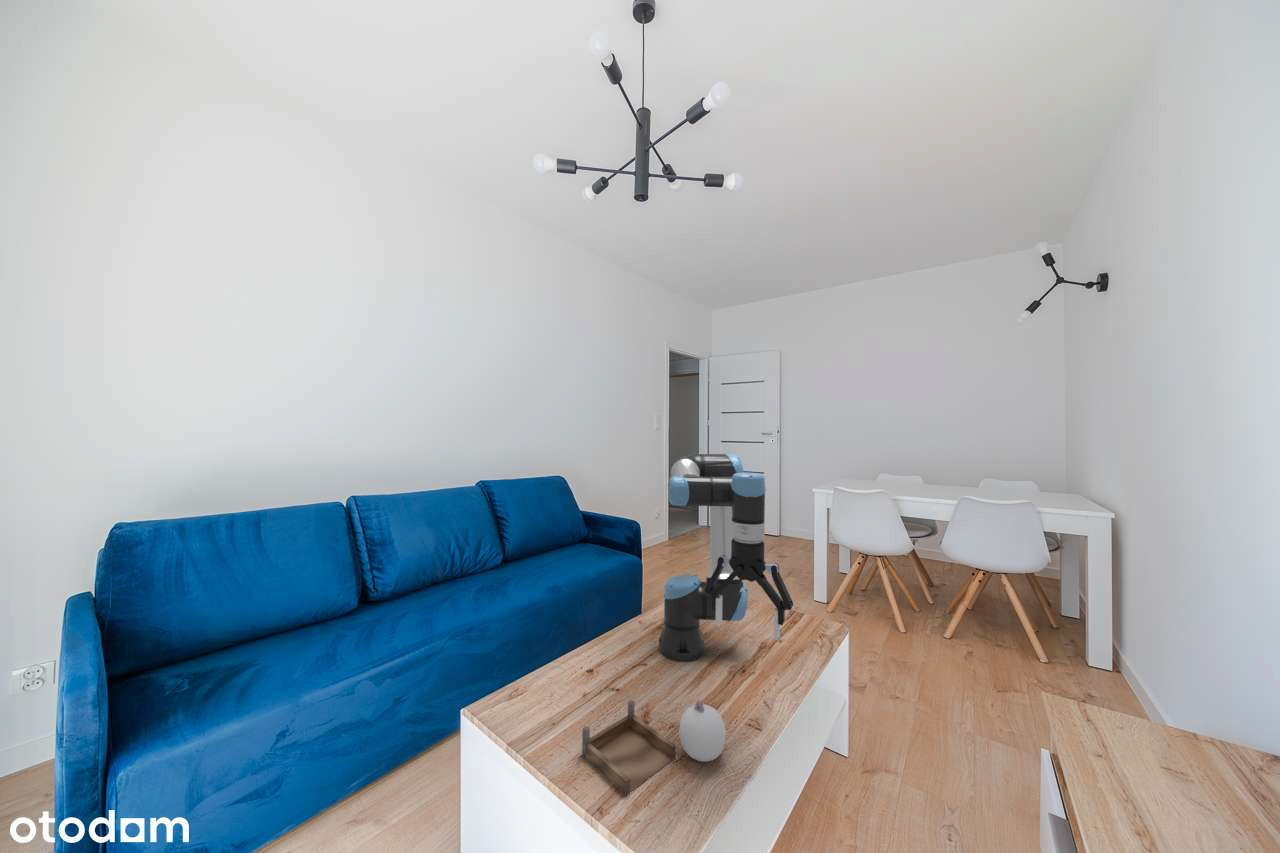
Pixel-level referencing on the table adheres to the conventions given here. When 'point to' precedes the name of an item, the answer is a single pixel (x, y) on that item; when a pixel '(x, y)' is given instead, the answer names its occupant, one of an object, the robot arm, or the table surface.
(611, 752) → the keeper
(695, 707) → the ornament
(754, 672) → the table surface
